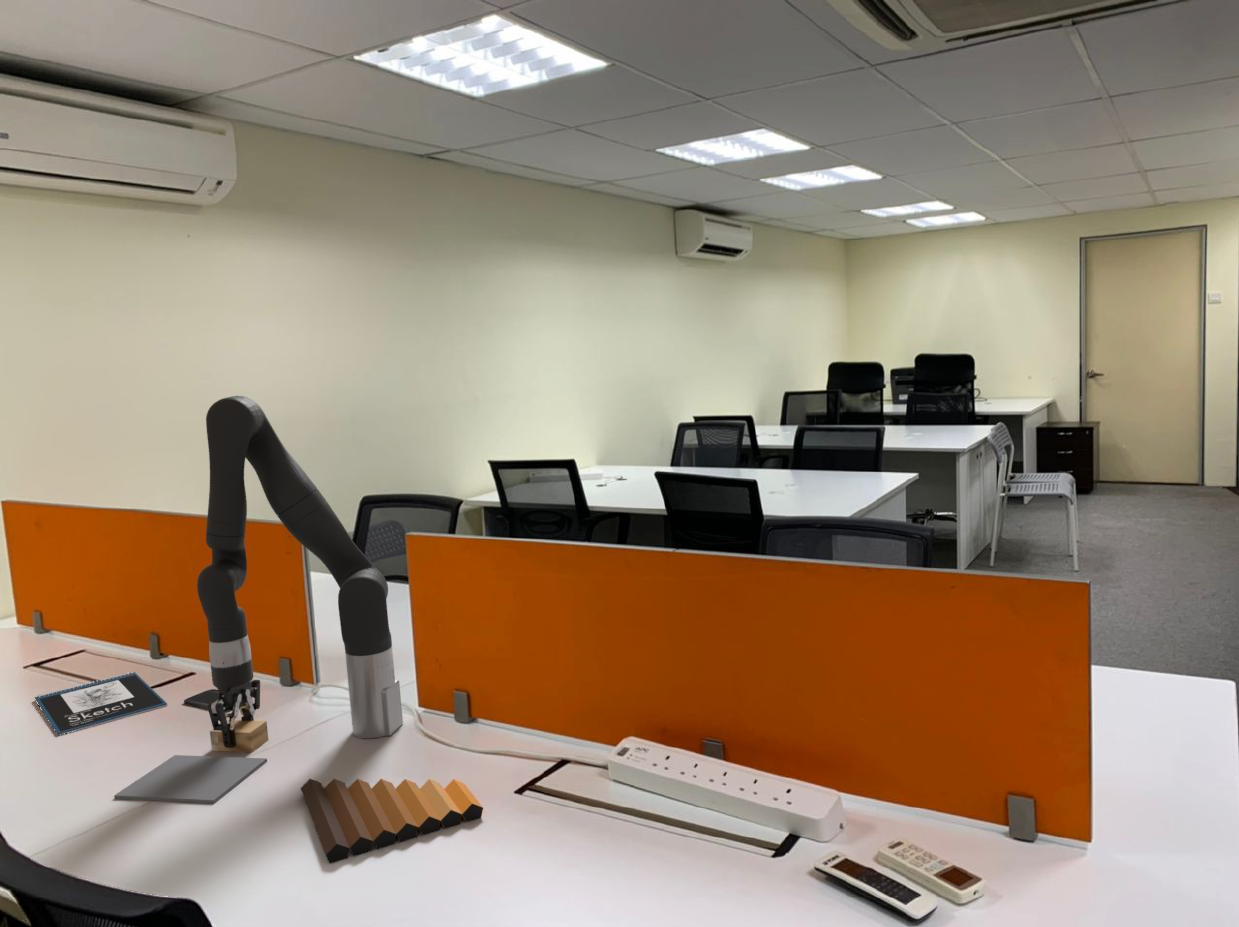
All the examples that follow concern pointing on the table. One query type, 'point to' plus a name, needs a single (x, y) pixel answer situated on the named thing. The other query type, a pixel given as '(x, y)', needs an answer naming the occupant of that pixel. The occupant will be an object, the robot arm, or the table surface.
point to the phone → (203, 699)
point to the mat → (192, 779)
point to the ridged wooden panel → (383, 812)
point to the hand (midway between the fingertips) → (239, 739)
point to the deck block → (242, 736)
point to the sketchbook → (98, 702)
